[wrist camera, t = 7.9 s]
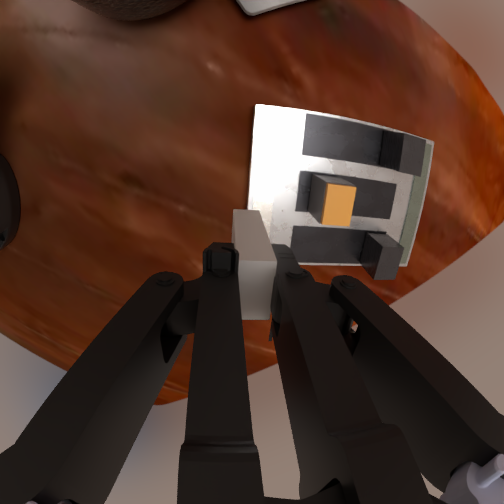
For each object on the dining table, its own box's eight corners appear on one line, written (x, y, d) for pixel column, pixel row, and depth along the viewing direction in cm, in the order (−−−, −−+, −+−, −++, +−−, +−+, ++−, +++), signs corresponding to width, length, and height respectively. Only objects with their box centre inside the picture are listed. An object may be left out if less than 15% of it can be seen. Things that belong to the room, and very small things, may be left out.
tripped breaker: (307, 211, 29) (320, 225, 25) (312, 173, 27) (327, 182, 23) (333, 212, 29) (349, 227, 25) (339, 177, 28) (357, 186, 24)
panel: (242, 255, 33) (246, 283, 27) (253, 105, 26) (261, 100, 20) (399, 259, 36) (423, 282, 30) (424, 140, 28) (456, 146, 23)
